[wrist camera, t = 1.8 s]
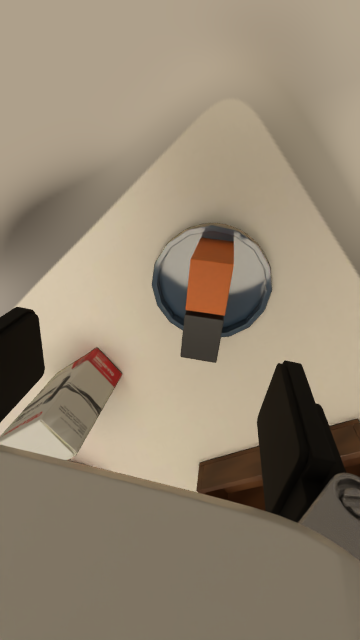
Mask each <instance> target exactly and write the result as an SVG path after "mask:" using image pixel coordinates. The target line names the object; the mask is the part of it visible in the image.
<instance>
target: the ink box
mask: <svg viewBox="0 0 360 640" xmlns="http://www.w3.org/2000/svg"><path fill="white" fill-rule="evenodd" d="M121 376H122V374H121V372H120V371H119V370H118V369H117V368H116V367H115V366H114V365H113V364H112V363H111V362H110V361H109V359H108V358H107V357H106V356H105V355H104V354H103V353H102V352H101V351H100V350H99V349H98V348H96V349H94V350H93V351H91V352H90V353H88V354H86V355H85V356H83V357H82V358H80V359H79V360H77V361H76V362H74V363H72V364H71V365H69V366H68V367H66V368H65V369H63V370H61V371H60V372H58V373H57V374H56V375H55V376H54V377H53V378H52V379H51V380H50V381H49V382H48V384H47V385H46V386H45V387H44V388H43V389H42V390H41V391H40V393H39V394H38V395H37V396H36V397H35V398H34V399H33V401H32V402H31V403H30V404H29V405H28V406H27V407H26V408H25V409H24V410H23V411H22V413H21V414H20V415H19V416H18V417H17V418H16V419H15V420H14V421H13V423H12V424H11V425H10V426H9V427H8V428H7V429H6V430H5V432H4V433H3V434H2V435H1V436H0V445H5V446H9V447H13V448H17V449H21V450H26V451H30V452H34V453H38V454H42V455H47V456H51V457H55V458H59V459H63V460H68V459H71V458H73V456H75V455H77V453H78V451H79V449H80V448H81V446H82V444H83V442H84V441H85V439H86V437H87V435H88V434H89V432H90V430H91V428H92V427H93V425H94V423H95V421H96V420H97V418H98V416H99V414H100V412H101V411H102V409H103V407H104V405H105V404H106V402H107V400H108V398H109V397H110V395H111V393H112V391H113V390H114V388H115V386H116V384H117V383H118V381H119V379H120V377H121Z"/></svg>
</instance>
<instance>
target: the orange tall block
mask: <svg viewBox="0 0 360 640" xmlns="http://www.w3.org/2000/svg"><path fill="white" fill-rule="evenodd" d="M233 267H234V242H233V241H225V240H217V239H209V238H200V240H199V242H198V245H197V247H196V249H195V251H194V253H193V255H192V257H191V260H190V270H189V280H188V289H187V299H186V310H190V311H196V312H203V313H210V314H216V315H223V316H225V312H226V306H227V301H228V295H229V289H230V284H231V278H232V273H233Z"/></svg>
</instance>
